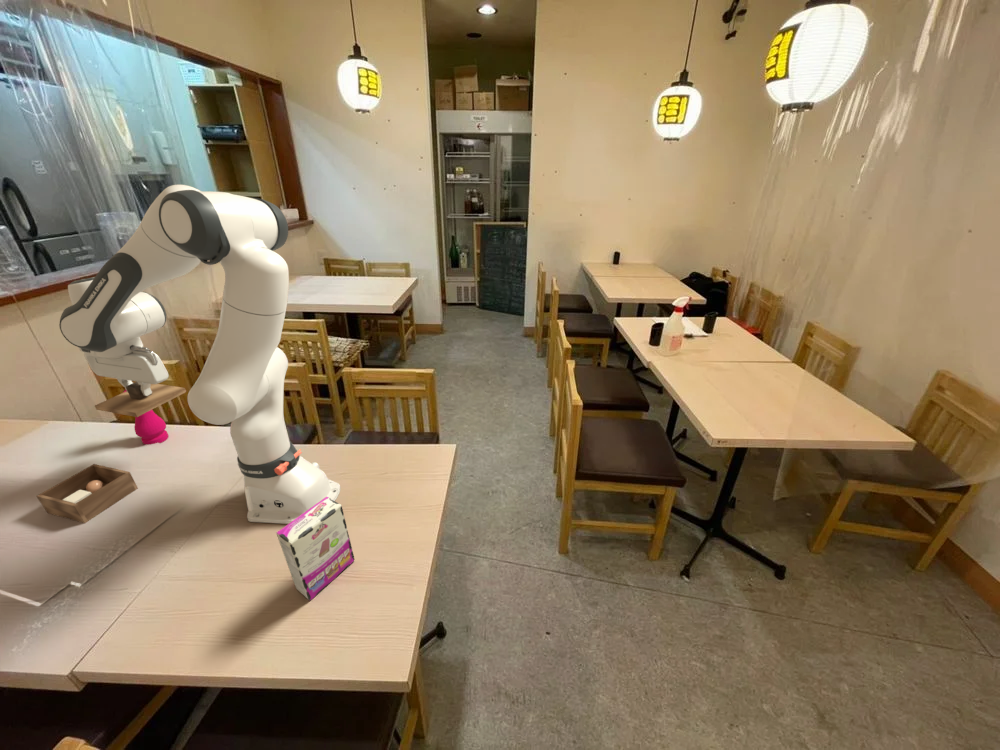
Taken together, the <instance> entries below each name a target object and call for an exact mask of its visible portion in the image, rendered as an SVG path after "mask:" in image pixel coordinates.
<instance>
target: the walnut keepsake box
mask: <svg viewBox="0 0 1000 750" xmlns="http://www.w3.org/2000/svg"><path fill="white" fill-rule="evenodd" d="M93 480H100V481H102V482H103V484H104V487H102V488H100V489H99V490H97V491H95V492H94V493H92V494H90V495H89V496H87V497H86V498H84V499H82V500H81V501H79V502H77V503H76V504H75V503H71V502H67V501H64V500H63V499H65V498H66V497H68V496H70V495H71V494H73V493H75V492H76V491H78V490H84V491H87V490H86V485H87V484H88V483H89V482H91V481H93ZM138 489H139V487H138V485H137V483H136V481H135V480H134V478H133V476H132V474H131V471H126V470H123V469H118V468H115V467H110V466H104V465H100V464H96V463H93V464H92V465H90V466H88V467H86V468H84V469H82V470H81V471H79V472H77V473H76V474H73V475H71V476H70V477H68V478H66V479H64V480H62V481H61V482H59V483H57V484H55V485H54V486H51V487H50V488H48V489H47V490H44V491H43V492H41V493H39V494H37V495H36V498H37V499H38V501H39V502H40V504H41V505H42V507H43V508H44V510H45V512H47V514H50V515H54V516H58V517H61V518H64V519H67V520H72V521H75V522H79V523H83V524H86V523H88V522H89V521H91V520H92V519H94V518H96V517H97V516H98V515H100V514H102V513H103V512H104V511H106V510H108V509H109V508H111V507H112V506H114V505H116V504H117V503H118V502H120V501H121V500H123V499H125V498H126V497H128V496H129V495H130V494H132V493H133V492H135V491H136V490H138Z"/></svg>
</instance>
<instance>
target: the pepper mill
mask: <svg viewBox="0 0 1000 750" xmlns="http://www.w3.org/2000/svg"><path fill="white" fill-rule="evenodd" d="M124 392H126V389H124V391H123V392H122V393H124ZM134 418H135V420H134V427H133V428H134V432H135V434H136V436H137V437H139V438H140V440H141V442H142V444H143V445H146V446H147V445H149V446H150V445H156V444H157V443H158V444H161V443H164V442H166V441H167V440H168V439H169V434H168V432H167V430H166V428H167V424H166V422H165V420H164V419H163V418H162V417H160V416H159V415H158V414H157V413H155V411H154V410H153V409H152V410H150V411H148V412H146V413H144V414H142V415H140V416H138V417H134Z"/></svg>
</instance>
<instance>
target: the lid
mask: <svg viewBox="0 0 1000 750" xmlns="http://www.w3.org/2000/svg"><path fill="white" fill-rule="evenodd" d="M150 388H151V391H152V393H151V394H150V395H148V396H145V395H141V394H140V392H139V389H141V385H139V384H138V382H136V381H134V382H132V384H130V385H128V386H126V389H127V391H128V392H127V391H126V392H124V391H123V392H124V393H123V392H122V393H120V394H117V395H115V396H113V397H110V398H109V399H106V400H104V401H102V402H99V403H96V404H94V407H95V410H97V411H101V412H107V413H113V414H118V415H124V416H131V417H134V418H135V417H138V416H140V415H142V414H144V413H146V412H148V411H150V410H153V409H156V408H158V407H160V406H161V405H164V404H166V403H167V402H169V401H171V400H174V399H175V398H177V397H179V396H181V395H184V394H185V393H186V392H187V390H186V388H185V387H181V386H174V385H168V384H160V383H158V384H151V386H150ZM126 389H125V390H126Z"/></svg>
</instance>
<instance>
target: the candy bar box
mask: <svg viewBox="0 0 1000 750" xmlns="http://www.w3.org/2000/svg"><path fill="white" fill-rule="evenodd" d="M346 522H347V521H346V518H345V515H344V509H343V506H342V504H341V503H338V502H337V501H336V500H335V501H333V500H331V498H329V497H327V496H326V497H325V498H324V499H322V500H321V501H320V502H318V503H317V504H315V505H314V506H313V507H311V508H310V509H308V510H307V511H306V512H304V513H303V514H301V515H300V516H299V517H297V518H296V519H294V520H293V521H292V522H290V523H289V524H285V525H284V526H283V527H282V528H280V529H279V530H277V531H276V532H275V533H276V536H277V538H278V539H277V540H278V542H279V544H280V546H281V550H282V553H283V556H284V559H285V561H286V564H287V566H288V570H289V572H290V576H291V578H292V581H293V583H294V586H295V589H296V590H297V591H298V593H301V594H302V595H303V596H304V597H305V598H306V599H307V600H308V601H312V600H313V599H314V598H315V597H316V596H317V595H319V594H320V593H321V592H323V590H324V589H326V587H328V585H329V584H331V583H332V582H333V581H334V580H335V579H336V578H338V576H339V575H340V574H341V573H343V572H344V571H345V570H346V569H347V568H348V567H349V566H350V565H351V564H353V563H354V562H355V561H356V560H355V556H354V552H353V547H352V543H351V539H350V535H349V530H348V526H347V523H346ZM354 560H355V561H354ZM353 561H354V562H353ZM352 562H353V563H352ZM342 571H343V572H342ZM330 582H331V583H330Z"/></svg>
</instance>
